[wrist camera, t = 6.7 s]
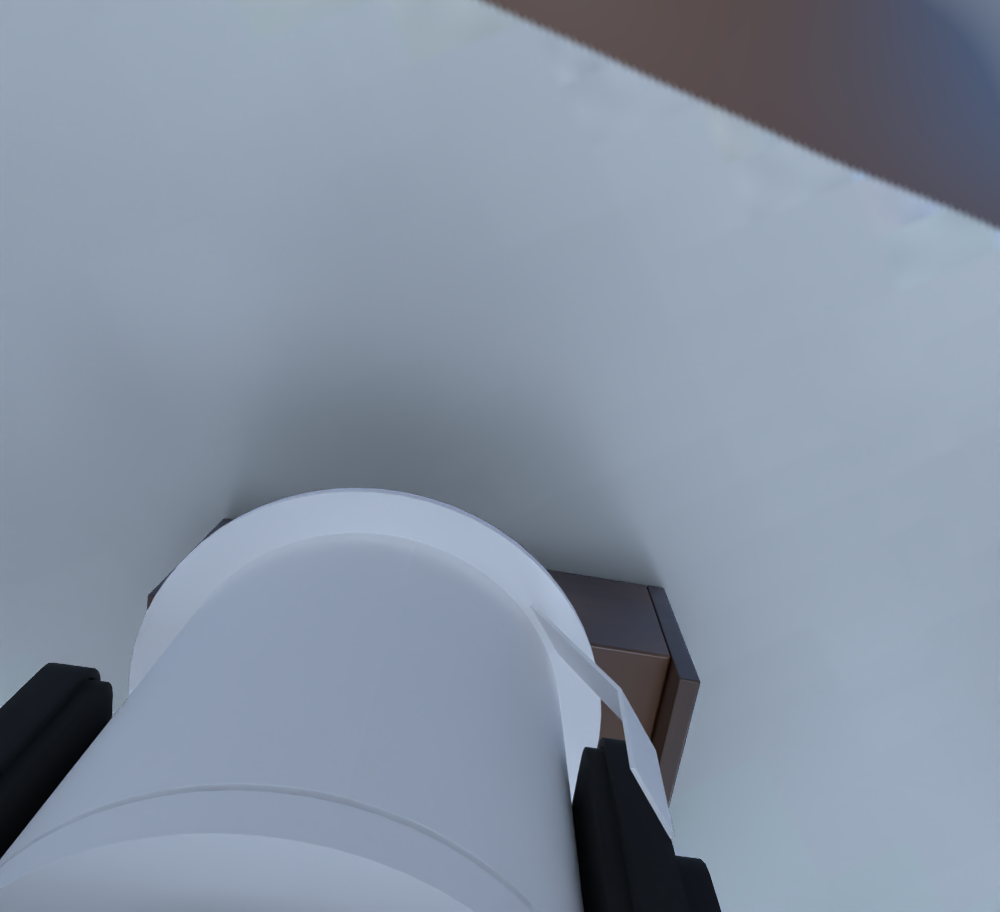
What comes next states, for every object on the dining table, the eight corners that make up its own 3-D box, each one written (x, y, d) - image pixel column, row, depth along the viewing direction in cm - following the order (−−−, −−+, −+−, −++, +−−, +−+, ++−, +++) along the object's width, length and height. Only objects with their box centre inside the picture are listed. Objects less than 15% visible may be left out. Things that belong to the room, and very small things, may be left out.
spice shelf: (190, 942, 34) (36, 1279, 23) (223, 517, 29) (49, 693, 18) (569, 998, 34) (592, 1357, 23) (664, 587, 29) (747, 801, 19)
